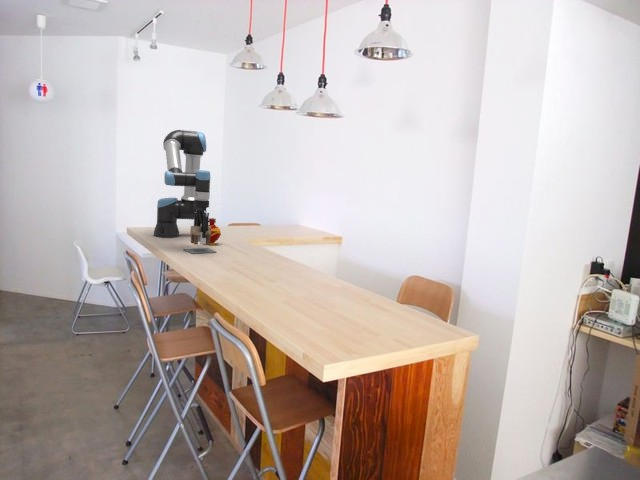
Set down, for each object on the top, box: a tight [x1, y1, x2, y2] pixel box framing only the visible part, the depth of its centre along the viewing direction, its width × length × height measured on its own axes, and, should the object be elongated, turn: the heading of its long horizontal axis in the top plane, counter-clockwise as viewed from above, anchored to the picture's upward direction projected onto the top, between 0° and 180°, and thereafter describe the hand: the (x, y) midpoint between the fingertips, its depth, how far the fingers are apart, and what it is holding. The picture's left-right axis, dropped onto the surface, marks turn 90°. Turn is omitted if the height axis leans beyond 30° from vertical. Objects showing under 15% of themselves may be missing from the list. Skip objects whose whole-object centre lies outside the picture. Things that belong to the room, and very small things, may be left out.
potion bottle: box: [207, 217, 222, 246], centre depth 283 cm, size 10×10×15 cm
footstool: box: [190, 225, 211, 245], centre depth 260 cm, size 9×6×9 cm, turn 128°
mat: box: [183, 247, 217, 255], centre depth 261 cm, size 11×14×1 cm
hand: (200, 242), depth 260 cm, fingers closed on footstool, 6 cm apart
